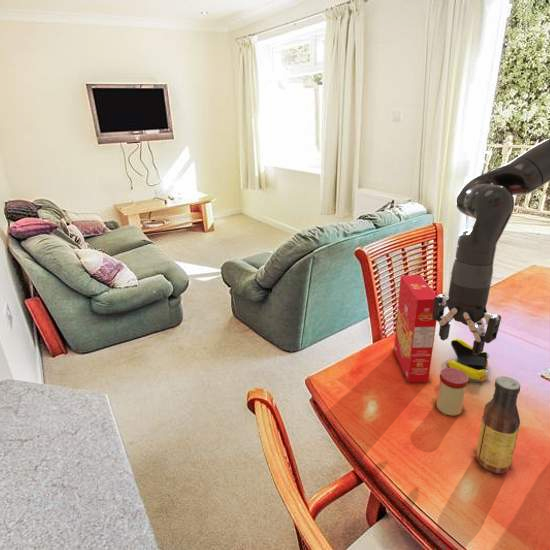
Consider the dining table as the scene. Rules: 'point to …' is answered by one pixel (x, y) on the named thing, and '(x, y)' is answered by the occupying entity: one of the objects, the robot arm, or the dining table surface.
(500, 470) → the sauce bottle
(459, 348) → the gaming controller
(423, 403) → the dining table surface
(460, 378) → the lid
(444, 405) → the jar
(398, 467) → the dining table surface
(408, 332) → the food packaging
